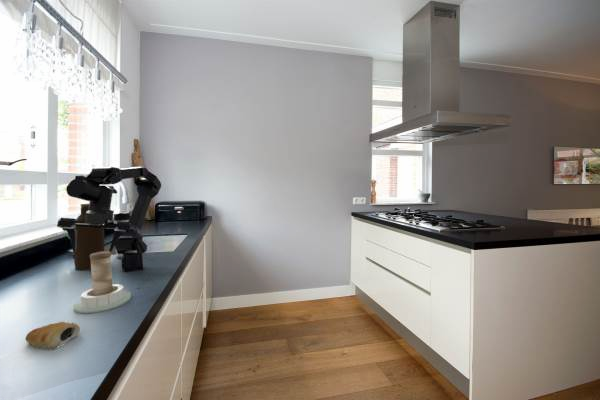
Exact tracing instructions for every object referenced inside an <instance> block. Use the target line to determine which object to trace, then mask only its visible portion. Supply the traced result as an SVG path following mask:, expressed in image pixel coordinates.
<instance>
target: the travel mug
mask: <svg viewBox="0 0 600 400" xmlns="http://www.w3.org/2000/svg"><path fill="white" fill-rule="evenodd" d="M130 216H131V213H129V212H128V213H127V212H125V213H124V212H119V213H114V214H113V223H116V224H117V221H121V222H128V221H129V219H130ZM115 231H116V229H114V232H115ZM121 257H123V254H118V253H117V250H116V249H115V258H116V259H119V258H121Z"/></svg>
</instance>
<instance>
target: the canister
mask: <svg viewBox="0 0 600 400" xmlns="http://www.w3.org/2000/svg"><path fill="white" fill-rule="evenodd" d="M109 251H110V250H109ZM109 251H105V250H104V252H97V253H93V254H90V259H91V269H90V272H91V284H92V288H93V296H100V295H105V294H109V293H111V292H113V286H112V284H113V273H112V260H111V259H112V258H111V257H112V251H111V252H109Z"/></svg>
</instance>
